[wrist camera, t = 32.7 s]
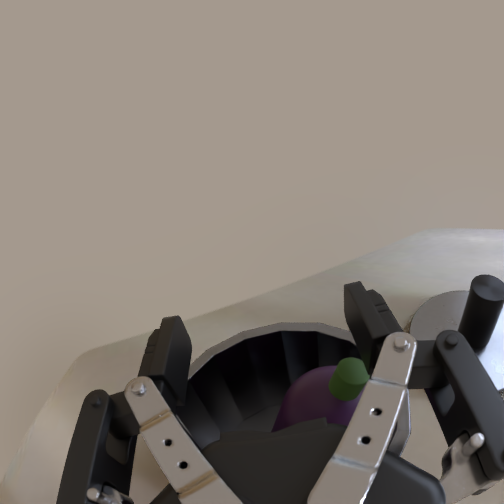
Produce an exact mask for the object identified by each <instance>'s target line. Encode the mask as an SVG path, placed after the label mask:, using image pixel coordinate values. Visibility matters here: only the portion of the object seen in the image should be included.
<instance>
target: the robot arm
mask: <svg viewBox="0 0 504 504" xmlns="http://www.w3.org/2000/svg"><path fill="white" fill-rule="evenodd" d="M344 313H345V318H346V322H347V324H348V327H349V329H350V331H351V334H352V336H353V339H354V341H355V343H356V346H357V348H358V351H359V353H360V356H361V358H362V361H363V363H364V365H365V368H366V371H367V373H368V375H371V374H372V377H371V378H369V379H368V381H367V384H366V386H365V389H364V391H363V393H362V396H361V398H360V401H359V403H358V405H357V407H356V410H355V412H354V414H353V416H352V418H351V421H350V423H349V425H348V426H346V425H341V424H335V423H327V419H326V417H322V418H318V419H313V420H308V421H303V422H299V423H296V424H294V425H292V426H289V427H287V428H284V429H282V430H279V431H276V432H272V433H270V432H258V431H248V430H243V431H233V432H221V433H220V440H217V441H215V442H212V443H210V444H208V445H207V446H205V447H204V448H202V447H201V446H200V445H199V444H198V443H197V441H196V440H195V439H194V437H193V436H192V435H191V433H190V432H189V431H188V429H187V428H186V427H185V425H184V424H183V422H182V421H181V420H180V418H179V417H178V415H177V414H176V413H175V411H176V406H185V398H186V390H187V382H188V375H189V367H190V360H191V353H192V344H191V340H190V337H189V335H188V333H187V331H186V329H185V326H184V324H183V322H182V320H181V318H180V317H179V316H172V317H165V318H163V319H162V323H161V326H160V329H155V330H154V332H153V333H152V334H151V336H150V337H149V339H148V343H147V347H146V349H145V354H144V356H143V360H142V363H141V366H140V370H139V374H138V377H137V378H134V379H133V380H131V381H130V382H129V383H128V384H127V386H126V388H125V391H123V392H120V393H116V394H113V395H110V396H109V395H108V394H107V392H106V391H104V390H100V389H99V390H94V391H92V392H91V393H89V394H88V395H87V396H86V398H85V399H84V402H83V405H82V408H81V411H80V414H79V417H78V420H77V424H76V427H75V430H74V434H73V437H72V440H71V444H70V448H69V451H68V455H67V459H66V463H65V466H64V471H63V475H62V479H61V483H60V488H59V492H58V497H57V502H56V504H134V502H133V500H132V499H131V498H130V497H129V490H130V482H131V475H132V468H133V461H134V454H135V448H136V442H137V436H138V434H141V435H142V437H143V439H144V440H145V442H146V444H147V446H148V448H149V449H150V451H151V453H152V455H153V456H154V458H155V460H156V461H157V463H158V465H159V466H160V468H161V470H162V471H163V473H164V474H165V476H166V477H167V479H168V481H169V482H170V483H169V484H168V485H167V486H166V487H165V488H164V489H163V490H162V491H161V492H160V494H159V495H158V496H157V497H156V498H155V499H154V500H153V501H152V502H151V503H150V504H454V503H456V502H458V501H460V500H462V499H464V498H466V497H467V496H469V495H478V494H481V493H482V492H484V491H486V490H487V489H489V488H490V487H492V486H493V485H495V484H496V483H498V482H499V481H501V480H502V479H504V401H503V399H502V397H501V395H500V394H499V392H498V390H497V388H496V387H495V385H494V383H493V381H492V380H491V378H490V376H489V375H488V373H487V371H486V370H485V368H484V367H483V365H482V363H481V362H480V360H479V359H478V357H477V355H476V354H475V352H474V351H473V349H472V348H471V346H470V345H469V343H468V342H467V340H466V339H465V337H464V336H463V335H462V334H461V333H460V332H458V331H455V330H444V331H442V332H440V333H439V334H438V335H437V337H436V340H423V341H422V340H416V339H415V338H414V337H413V336H412V335H410V334H408V333H406V332H403V330H402V329H401V327H400V325H399V324H398V322H397V320H396V319H395V317H394V315H393V314H392V312H391V310H389V307H388V306H387V304H386V302H385V301H384V299H383V297H382V296H381V295H380V294H379V293H377V292H376V291H374V290H373V289H372V290H368V291H366V290H365V288H364V286H363V285H362V283H361V282H360V281H358V282H354V283H350V284H345V285H344ZM423 388H424V390H425V392H426V394H427V396H428V399H429V401H430V403H431V405H432V408H433V410H434V412H435V415H436V417H437V419H438V422H439V424H440V427H441V429H442V432H443V434H444V437H445V439H446V442H447V444H448V447H449V448H448V449H447V451H446V452H445V453H444V455H443V458H442V468H443V472H442V476H441V479H440V480H438V479H437V478H435V477H434V476H433V475H431V474H429V473H427V472H425V471H424V470H422V469H420V468H418V467H416V466H415V465H413V464H411V463H409V462H408V461H406V460H404V459H402V458H401V457H399V456H397V455H396V454H394V453H392V452H391V451H389V450H387V447H388V444H389V442H390V439H391V436H392V434H393V431H394V428H395V425H396V422H397V419H398V416H399V413H400V410H401V407H402V404H403V401H404V397H405V394H406V390H407V389H423Z"/></svg>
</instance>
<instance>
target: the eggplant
mask: <svg viewBox="0 0 504 504" xmlns="http://www.w3.org/2000/svg"><path fill="white" fill-rule="evenodd" d="M369 378H370V375H368V373H367V371H366V368H365V365H364V363H363V361H362V360H360V359H357V358H351V357H350V358H345V359H343V360H341V361H340V362H339V363H338V365H337V366H323V367H319V368H315V369H313V370H311V371H309V372H307V373H305V374H303V375H302V376H301V377H299V378H298V379H297V380H296V381H295V382H294V383H293V384H292V385H291V386H290V388H289V389H288V391H287V393H286V395H285V397H284V399H283V401H282V404H281V407H280V410H279V412H278V415H277V418H276V420H275V423H274V426H273V428H272V431H271V433H272V432H276V431H279V430H282V429H284V428H287V427H289V426H292V425H294V424H296V423H299V422H303V421H308V420H313V419H318V418H322V417H326V419H327V423H335V424H341V425H346V426H348V425H349V423H350V421H351V418H352V416H353V414H354V412H355V410H356V407H357V405H358V403H359V401H360V398H361V396H362V393H363V391H364V389H365V386H366V384H367V381H368V379H369Z"/></svg>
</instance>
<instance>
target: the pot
mask: <svg viewBox="0 0 504 504" xmlns="http://www.w3.org/2000/svg"><path fill="white" fill-rule="evenodd" d="M350 357H351V358H357V359H360V360H362V358H361V356H360V353H359V351H358V348H357V346H356V343H355V341H354V339H353V336H352V334H351V332H350V331H347V330H343V329H340V328H336V327H333V326H329V325H326V324H322V323H277V324H273V325H268V326H264V327H260V328H256V329H252V330H247V331H243V332H240V333H239V334H237V335H235V336H233V337H231V338H229V339H227V340H225V341H223V342H221V343H219V344H217V345H215V346H213V347H211V348H209V349H208V350H206V351H205V352H204V353H203V354H202V355H201V356H200V357H199V358H198V359H197V360H195V361H194V362H193V363H192V364H191V365H190V367H189V375H188V382H187V390H186V398H185V406H176V411H175V413H176V414H177V415H178V417H179V418H180V420H181V421H182V422H183V424H184V425H185V427H186V428H187V429H188V431H189V432H190V433H191V435H192V436H193V437H194V439H195V440H196V441H197V443H198V444H199V445H200V446H201V447H202V448H204V447H205V446H207V445H208V444H210V443H212V442H215V441H217V440H220V433H221V432H233V431H243V430H248V431H258V432H270V433H271V431H272V428H273V426H274V423H275V420H276V418H277V415H278V412H279V410H280V407H281V404H282V401H283V399H284V397H285V395H286V393H287V391H288V389H289V388H290V386H291V385H292V384H293V383H294V382H295V381H296V380H297V379H298V378H299V377H301V376H302V375H303V374H305V373H307V372H309V371H311V370H313V369H315V368H319V367H323V366H337V365H338V363H339V362H340V361H341V360H343V359H345V358H350ZM371 377H372V374H371V375H370V378H371ZM410 434H411V420H410V402H409V390H408V389H407V390H406V394H405V397H404V401H403V404H402V407H401V410H400V413H399V416H398V419H397V422H396V425H395V428H394V431H393V434H392V436H391V439H390V442H389V444H388V447H387V450H389V451H391V452H392V453H394V454H396V455H397V456H399V457H400V456H401V454H402V452H403V450H404V447H405V445H406V443H407V441H408V438H409V436H410Z"/></svg>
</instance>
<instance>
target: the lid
mask: <svg viewBox="0 0 504 504" xmlns="http://www.w3.org/2000/svg"><path fill="white" fill-rule="evenodd" d="M444 330H455V331H458V332H460V333H461V334H462V335H463V336H464V337H465V339H466V340H467V342H468V343H469V345H470V346H471V348H472V349H473V351H474V352H475V354H476V355H477V357H478V359H479V360H480V362H481V363H482V365H483V367H484V368H485V370H486V371H487V373H488V375H489V376H490V378H491V380H492V381H493V383H494V385H495V387H496V388H497V390H498V392H499V393H500V392H502V391H504V283H503V282H502V281H501V280H500V279H498V278H496V277H494V276H491V275H479V276H476V277H475V278H474V279H473V280H472V282H471V286H470V290H469V291H451V292H446V293H442V294H440V295H437V296H435V297H433V298H431V299H429V300H428V301H426V302H425V303H424V304H423V305H422V306H421V307H420V308H419V309H418V310H417V312H416V313H415V315H414V317H413V319H412V322H411V326H410V330H409V334H410V335H412V336H413V337H414V338H415V339H416V340H422V341H423V340H436V337H437V335H438V334H439V333H440V332H442V331H444Z"/></svg>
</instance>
